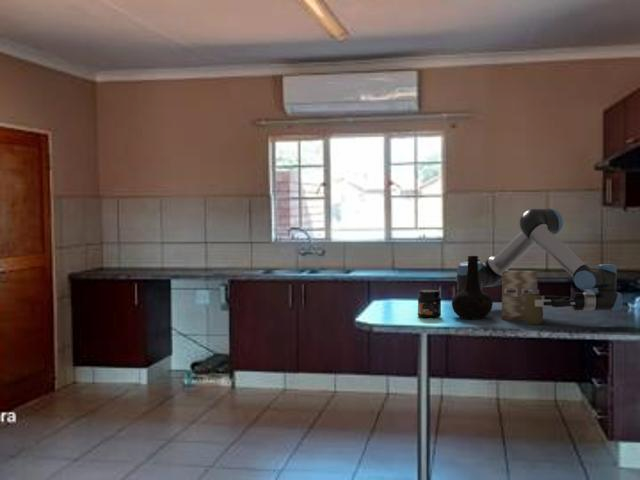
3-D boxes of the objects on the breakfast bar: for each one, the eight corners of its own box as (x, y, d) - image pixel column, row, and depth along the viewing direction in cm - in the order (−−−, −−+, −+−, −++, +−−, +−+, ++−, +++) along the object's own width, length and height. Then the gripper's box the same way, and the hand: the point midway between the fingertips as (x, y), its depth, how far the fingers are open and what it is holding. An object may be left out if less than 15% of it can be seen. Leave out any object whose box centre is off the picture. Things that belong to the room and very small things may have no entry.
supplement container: (413, 317, 342) (413, 291, 341) (424, 314, 350) (424, 289, 349) (434, 319, 335) (434, 292, 335) (445, 316, 344) (445, 290, 343)
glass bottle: (450, 320, 333) (450, 256, 332) (453, 314, 350) (454, 254, 349) (491, 321, 328) (491, 257, 327) (493, 315, 346) (493, 254, 344)
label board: (501, 319, 334) (502, 271, 333) (501, 317, 339) (502, 270, 338) (537, 320, 330) (537, 271, 329) (536, 318, 336) (536, 270, 335)
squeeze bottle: (541, 322, 325) (541, 280, 324) (545, 325, 317) (545, 282, 316) (522, 322, 326) (522, 280, 325) (525, 325, 318) (525, 282, 317)
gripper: (591, 314, 307) (537, 314, 309) (575, 306, 332) (526, 305, 333) (591, 296, 306) (537, 295, 308) (575, 289, 331) (526, 288, 333)
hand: (531, 301), depth 321 cm, fingers open, 13 cm apart
